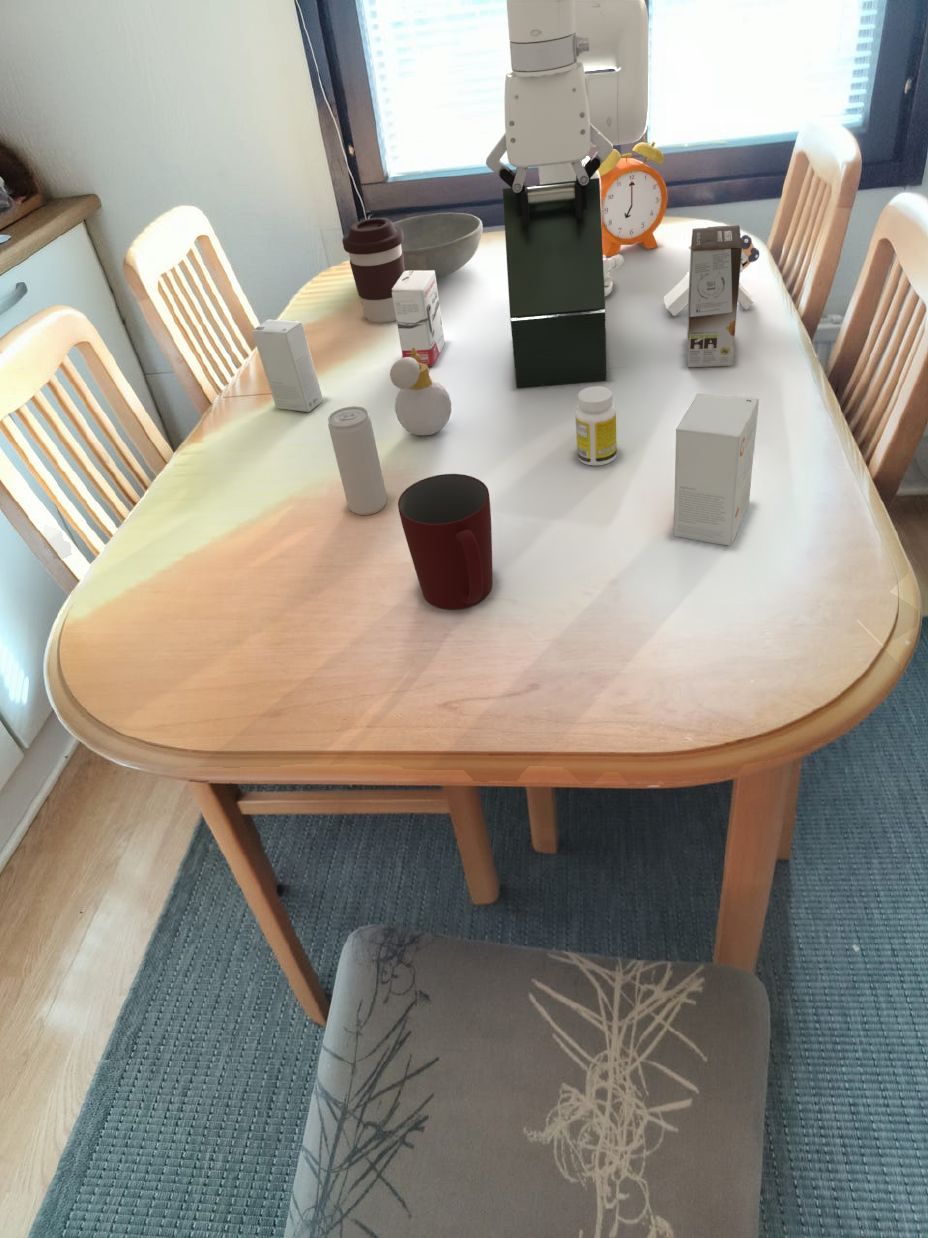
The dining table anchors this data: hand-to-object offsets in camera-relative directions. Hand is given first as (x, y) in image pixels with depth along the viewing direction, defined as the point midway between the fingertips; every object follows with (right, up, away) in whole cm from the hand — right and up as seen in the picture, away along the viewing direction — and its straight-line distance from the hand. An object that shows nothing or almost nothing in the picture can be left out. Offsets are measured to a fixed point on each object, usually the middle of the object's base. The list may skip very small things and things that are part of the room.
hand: (552, 217), depth 113 cm
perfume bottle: (-16, -27, +5) cm, 32 cm away
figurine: (+27, -3, +25) cm, 37 cm away
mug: (-11, -49, -22) cm, 55 cm away
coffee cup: (-24, +1, +39) cm, 46 cm away
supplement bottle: (+5, -31, -4) cm, 32 cm away
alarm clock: (+19, +17, +50) cm, 56 cm away
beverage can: (-23, -38, -6) cm, 45 cm away
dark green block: (+1, -2, +4) cm, 5 cm away
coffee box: (+24, -13, +13) cm, 30 cm away
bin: (+3, -13, +17) cm, 22 cm away
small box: (+16, -41, -17) cm, 47 cm away
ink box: (-17, -10, +25) cm, 32 cm away
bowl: (-18, +13, +52) cm, 56 cm away
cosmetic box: (-35, -20, +17) cm, 44 cm away
